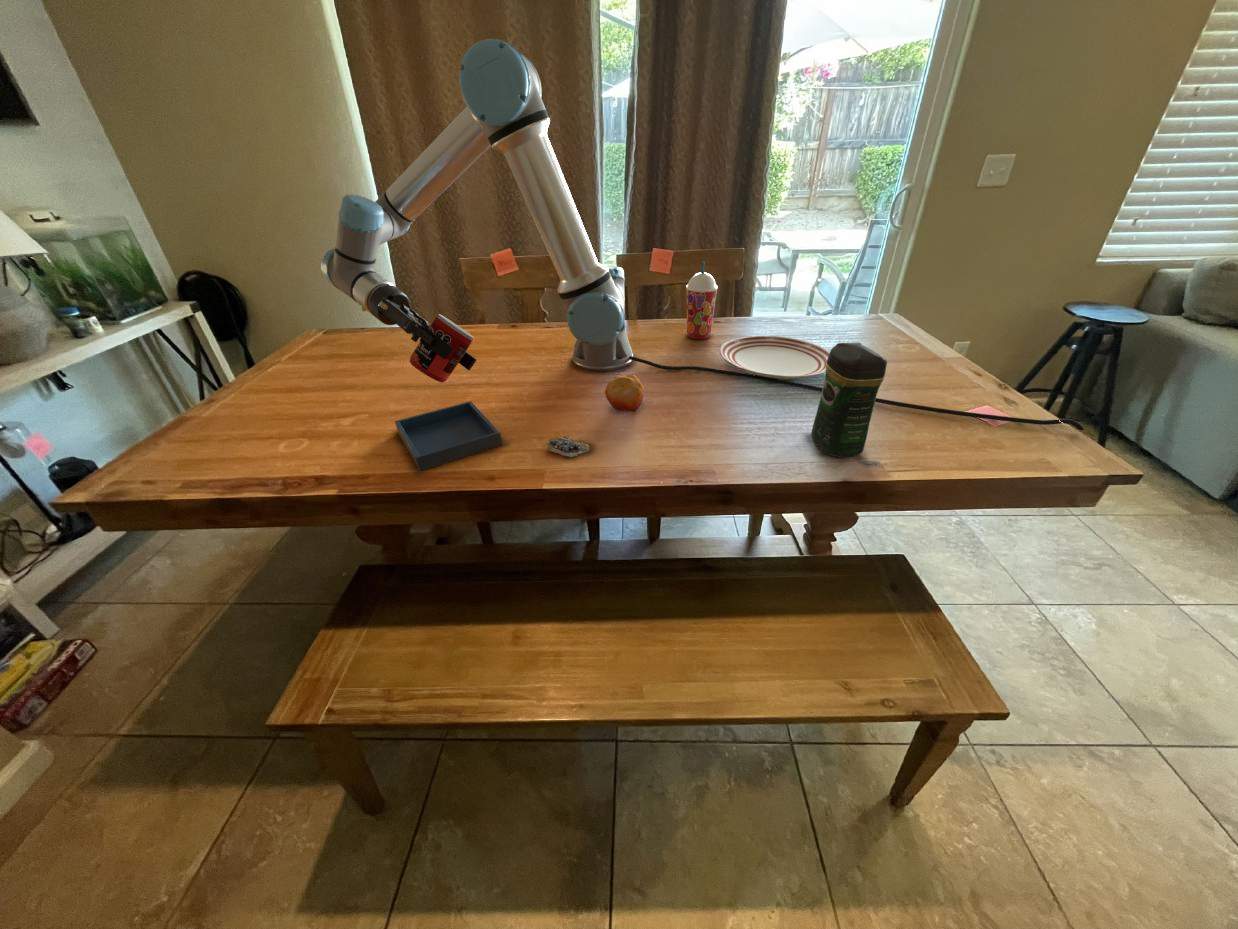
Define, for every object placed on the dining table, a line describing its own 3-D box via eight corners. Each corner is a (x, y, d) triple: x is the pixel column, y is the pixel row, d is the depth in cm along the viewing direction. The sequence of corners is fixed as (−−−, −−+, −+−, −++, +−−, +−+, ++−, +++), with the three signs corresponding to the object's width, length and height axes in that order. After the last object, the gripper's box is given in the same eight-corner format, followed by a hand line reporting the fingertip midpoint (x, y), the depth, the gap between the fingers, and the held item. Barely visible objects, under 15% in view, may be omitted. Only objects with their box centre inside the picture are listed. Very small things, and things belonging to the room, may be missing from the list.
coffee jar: (869, 458, 88) (899, 357, 78) (826, 461, 88) (850, 360, 78) (844, 431, 96) (868, 336, 86) (804, 433, 96) (823, 339, 86)
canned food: (403, 355, 100) (433, 309, 98) (437, 374, 106) (466, 330, 104) (414, 369, 95) (446, 320, 93) (450, 388, 100) (480, 342, 99)
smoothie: (712, 331, 146) (718, 258, 135) (714, 341, 139) (720, 265, 128) (683, 331, 147) (687, 258, 136) (684, 340, 140) (687, 265, 129)
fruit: (651, 392, 109) (645, 370, 102) (642, 423, 106) (636, 402, 99) (616, 387, 112) (608, 365, 104) (606, 418, 108) (598, 397, 101)
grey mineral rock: (551, 438, 96) (550, 429, 95) (592, 439, 96) (592, 431, 95) (543, 457, 91) (542, 448, 90) (587, 458, 90) (586, 449, 89)
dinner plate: (790, 340, 138) (792, 328, 137) (859, 377, 117) (862, 364, 115) (699, 354, 131) (700, 341, 130) (755, 396, 110) (757, 382, 108)
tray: (502, 445, 95) (500, 432, 93) (419, 470, 88) (415, 458, 87) (473, 412, 106) (470, 400, 105) (398, 433, 100) (394, 421, 98)
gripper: (406, 331, 114) (477, 386, 109) (333, 296, 94) (417, 361, 89) (423, 303, 113) (496, 357, 108) (354, 262, 93) (440, 326, 88)
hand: (460, 359), depth 98 cm, fingers closed on canned food, 8 cm apart
